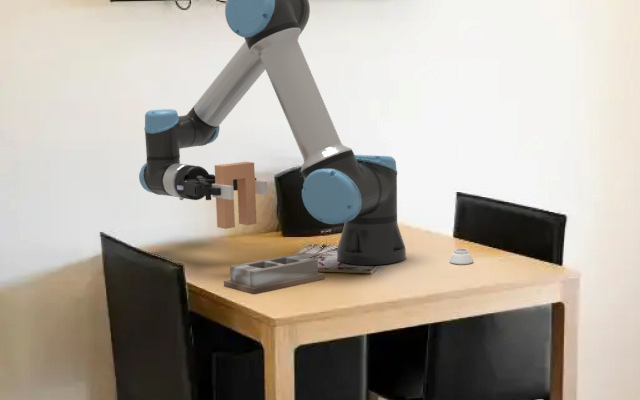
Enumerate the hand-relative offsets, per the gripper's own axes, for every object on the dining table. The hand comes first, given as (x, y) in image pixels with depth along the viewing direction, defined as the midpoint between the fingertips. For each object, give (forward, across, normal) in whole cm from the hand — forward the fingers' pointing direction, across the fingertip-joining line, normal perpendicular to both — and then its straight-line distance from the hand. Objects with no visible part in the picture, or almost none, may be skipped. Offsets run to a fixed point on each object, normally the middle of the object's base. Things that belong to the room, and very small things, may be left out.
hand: (249, 190), depth 219 cm
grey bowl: (+23, -39, -18) cm, 49 cm away
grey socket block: (+9, +1, -18) cm, 20 cm away
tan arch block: (-5, 0, -8) cm, 9 cm away
